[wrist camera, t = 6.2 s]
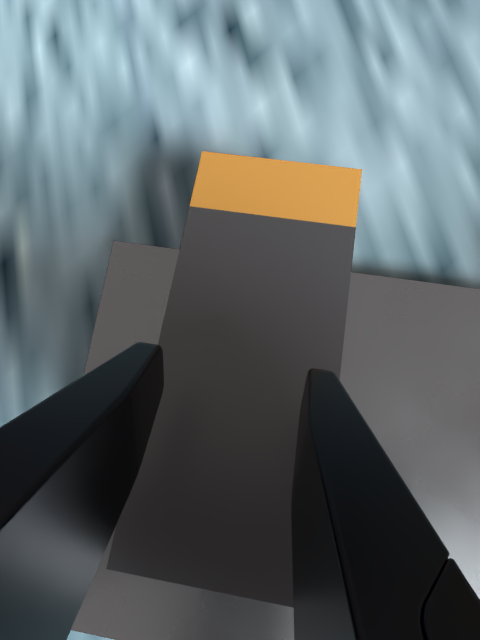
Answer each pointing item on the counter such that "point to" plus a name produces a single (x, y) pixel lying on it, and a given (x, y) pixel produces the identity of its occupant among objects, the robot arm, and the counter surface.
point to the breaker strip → (372, 402)
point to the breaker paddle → (240, 374)
